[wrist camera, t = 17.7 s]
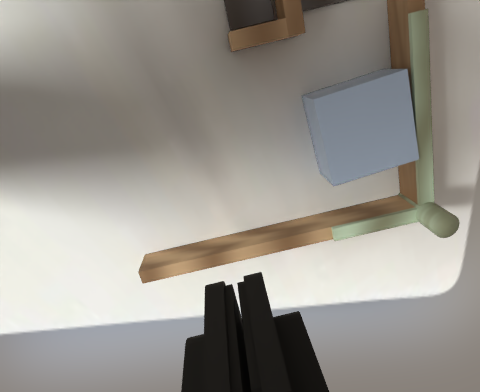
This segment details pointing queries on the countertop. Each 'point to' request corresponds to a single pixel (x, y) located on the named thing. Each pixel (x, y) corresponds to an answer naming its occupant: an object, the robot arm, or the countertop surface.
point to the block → (362, 125)
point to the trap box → (346, 219)
